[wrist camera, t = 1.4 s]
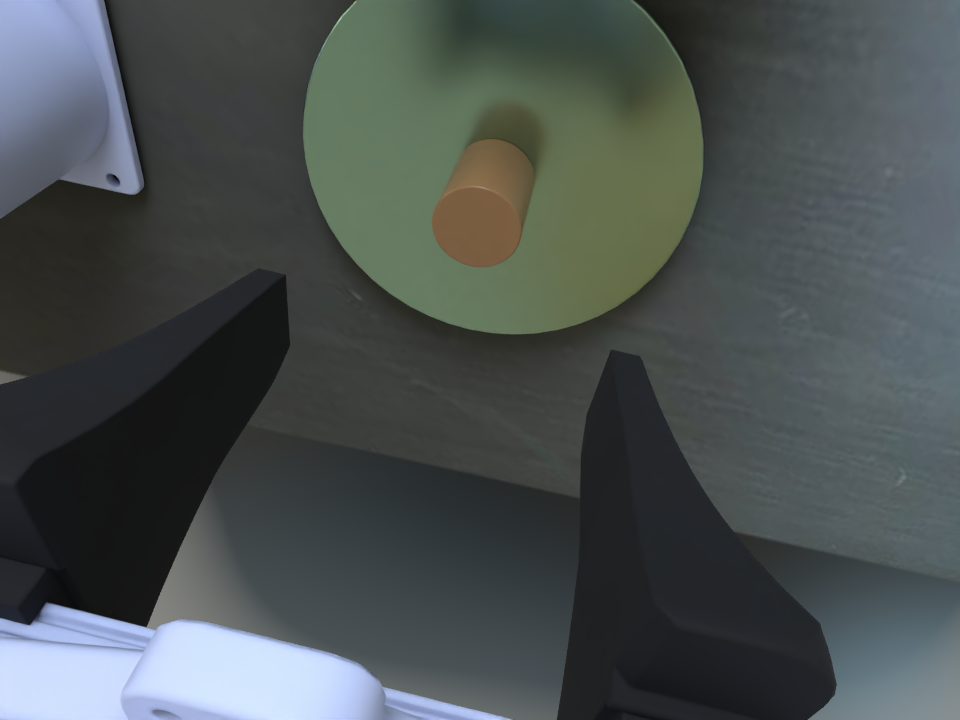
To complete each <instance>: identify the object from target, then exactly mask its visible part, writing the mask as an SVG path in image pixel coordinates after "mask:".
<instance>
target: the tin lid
mask: <svg viewBox="0 0 960 720" xmlns="http://www.w3.org/2000/svg"><path fill="white" fill-rule="evenodd" d="M303 143H304V153H305V162H306V166H307V170H308V174H309V178H310V183H311V186H312V189H313V191H314V194H315V197H316V200H317V202H318V205H319V207H320V209H321V211H322V213H323V215H324V217H325V219H326V221H327V223H328V225H329V227H330V229H331V230H332V232H333V233H334V235H335V236H336V238H337V239H338V241H339V243H340V244H341V246H342V247H343V248H344V249H345V251H346V252H347V253H348V254H349V256H350V257H351V258H352V259H353V260H354V262H355V263H356V264H357V265H358V266H359V267H360V268H361V269H362V270H363V271H364V272H365V273H366V274H367V275H368V276H369V277H370V278H371V279H372V280H373V281H375V282H376V283H377V284H378V285H380V286H381V287H382V288H383V289H385V290H386V291H387V292H388V293H390V294H391V295H393V296H394V297H396V298H397V299H399V300H400V301H402V302H403V303H405V304H407V305H408V306H410V307H412V308H414V309H416V310H418V311H420V312H422V313H424V314H426V315H428V316H430V317H433V318H435V319H438V320H440V321H443V322H445V323H448V324H451V325H455V326H459V327H462V328H466V329H469V330H475V331H481V332H487V333H496V334H512V335H514V334H535V333H542V332H549V331H556V330H560V329H563V328H567V327H571V326H575V325H578V324H581V323H583V322H586V321H588V320H591V319H594V318H596V317H598V316H600V315H602V314H604V313H606V312H608V311H610V310H612V309H613V308H615V307H617V306H619V305H620V304H621V303H623V302H624V301H626V300H627V299H629V298H630V297H632V296H633V295H635V294H636V293H637V292H638V291H639V290H640V289H641V288H643V287H644V286H645V285H646V284H647V283H648V282H649V281H650V280H651V279H653V277H654V276H655V275H656V274H657V273H658V272H659V270H660V269H661V268H662V267H663V266H664V265H665V264H666V262H667V261H668V260H669V258H670V257H671V255H672V254H673V252H674V251H675V249H676V248H677V246H678V245H679V243H680V242H681V240H682V238H683V236H684V234H685V232H686V230H687V227H688V225H689V223H690V221H691V219H692V216H693V213H694V210H695V207H696V204H697V200H698V197H699V194H700V188H701V182H702V176H703V170H704V135H703V127H702V118H701V112H700V107H699V104H698V100H697V96H696V93H695V89H694V85H693V82H692V80H691V77H690V75H689V73H688V70H687V68H686V66H685V63H684V61H683V59H682V57H681V55H680V53H679V51H678V50H677V48H676V47H675V45H674V43H673V42H672V40H671V39H670V37H669V35H668V34H667V32H666V30H665V29H664V28H663V27H662V26H661V24H660V23H659V22H658V21H657V20H656V18H655V17H654V16H653V15H652V14H651V13H650V11H649V10H648V9H647V8H646V7H645V6H644V5H643V4H642V3H641V2H640V1H639V0H355V1H354V2H353V3H352V5H351V6H350V7H349V8H348V9H347V10H346V11H345V12H344V13H343V14H342V15H341V17H340V18H339V20H338V21H337V23H336V24H335V26H334V27H333V29H332V30H331V32H330V33H329V35H328V36H327V37H326V40H325V42H324V44H323V46H322V48H321V50H320V52H319V54H318V56H317V58H316V60H315V63H314V66H313V70H312V73H311V76H310V79H309V83H308V86H307V92H306V98H305V104H304V110H303Z"/></svg>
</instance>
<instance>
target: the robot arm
mask: <svg viewBox="0 0 960 720" xmlns="http://www.w3.org/2000/svg"><path fill="white" fill-rule="evenodd" d="M113 175H115V176H116V177H117V178H118V179H119V181H117V180H116V179H115V178H114V176H113ZM58 179H60V180H65V181H69V182H74V183H79V184H83V185H88V186H92V187H97V188H102V189H106V190H111V191H115V192H120V193H124V194H129V195H135V194H137V193H138V192H140V191H141V190H142V189H143V187H144V179H143V175H142V170H141V166H140V161H139V157H138V152H137V147H136V143H135V138H134V134H133V129H132V125H131V120H130V116H129V111H128V107H127V102H126V97H125V93H124V88H123V84H122V79H121V75H120V70H119V66H118V61H117V57H116V52H115V47H114V43H113V38H112V34H111V29H110V25H109V20H108V16H107V11H106V7H105V2H104V0H0V219H1V218H2V217H4V216H5V215H7V214H8V213H10V212H11V211H13V210H14V209H16V208H17V207H18V206H20V205H21V204H23V203H24V202H26V201H27V200H29V199H30V198H32V197H33V196H35V195H36V194H38V193H39V192H40V191H42V190H43V189H45V188H46V187H48V186H49V185H51V184H52V183H54V182H55V181H57V180H58ZM289 346H290V339H289V322H288V305H287V289H286V275H285V274H281V273H276V272H272V271H268V270H263V269H257V270H255V271H253V272H252V273H250V274H248V275H246V276H245V277H243V278H241V279H240V280H238V281H236V282H235V283H233V284H231V285H230V286H228V287H226V288H225V289H223V290H221V291H220V292H218V293H216V294H215V295H213V296H211V297H210V298H208V299H206V300H204V301H203V302H201V303H199V304H198V305H196V306H194V307H192V308H191V309H189V310H187V311H186V312H184V313H182V314H180V315H178V316H176V317H174V318H172V319H170V320H168V321H167V322H165V323H163V324H161V325H159V326H157V327H155V328H153V329H151V330H149V331H147V332H145V333H143V334H141V335H139V336H137V337H135V338H133V339H131V340H128V341H126V342H124V343H122V344H119V345H117V346H115V347H112V348H110V349H107V350H105V351H102V352H100V353H98V354H95V355H92V356H90V357H87V358H84V359H81V360H79V361H76V362H73V363H70V364H67V365H64V366H61V367H58V368H55V369H52V370H49V371H46V372H43V373H40V374H37V375H33V376H30V377H26V378H23V379H20V380H16V381H12V382H9V383H4V384H1V385H0V720H513V719H509V718H505V717H501V716H497V715H493V714H489V713H485V712H481V711H477V710H473V709H469V708H465V707H461V706H457V705H453V704H449V703H445V702H441V701H437V700H433V699H429V698H425V697H421V696H417V695H413V694H409V693H405V692H401V691H397V690H393V689H389V688H385V687H382V686H381V684H380V681H379V680H378V678H377V676H376V675H375V674H373V673H372V672H370V671H369V670H367V669H366V668H365V667H363V666H362V665H360V664H359V663H357V662H354V661H352V660H349V659H346V658H343V657H341V656H338V655H336V654H333V653H329V652H325V651H321V650H317V649H313V648H309V647H305V646H301V645H297V644H293V643H289V642H285V641H281V640H277V639H273V638H269V637H265V636H261V635H257V634H253V633H249V632H245V631H241V630H237V629H233V628H229V627H225V626H221V625H217V624H213V623H209V622H203V621H196V620H188V619H180V620H176V621H173V622H169V623H166V624H163V625H160V626H158V628H157V630H155V629H151V628H147V625H148V622H149V620H150V617H151V615H152V612H153V609H154V607H155V605H156V602H157V600H158V597H159V595H160V592H161V590H162V588H163V585H164V583H165V581H166V578H167V576H168V574H169V571H170V569H171V567H172V564H173V562H174V560H175V557H176V555H177V553H178V551H179V548H180V546H181V544H182V542H183V540H184V537H185V536H186V533H187V531H188V529H189V527H190V524H191V523H192V520H193V518H194V516H195V514H196V512H197V510H198V508H199V506H200V504H201V502H202V500H203V498H204V495H205V494H206V492H207V490H208V487H209V485H210V484H211V482H212V480H213V478H214V476H215V474H216V472H217V470H218V469H219V467H220V465H221V464H222V462H223V460H224V458H225V457H226V455H227V454H228V452H229V451H230V449H231V447H232V446H233V444H234V443H235V441H236V440H237V438H238V437H239V435H240V434H241V432H242V431H243V429H244V427H245V426H246V424H247V423H248V421H249V420H250V418H251V417H252V415H253V414H254V412H255V410H256V409H257V407H258V406H259V404H260V403H261V401H262V399H263V398H264V396H265V395H266V393H267V392H268V390H269V388H270V387H271V385H272V383H273V382H274V379H275V377H276V375H277V373H278V371H279V369H280V367H281V365H282V362H283V360H284V358H285V355H286V353H287V351H288V349H289ZM835 690H836V680H835V675H834V671H833V666H832V661H831V658H830V654H829V650H828V646H827V644H826V641H825V638H824V636H823V632H822V629H821V626H820V623H819V622H818V621H817V620H816V619H815V618H814V617H813V616H812V615H811V614H810V613H809V612H807V610H805V609H804V608H803V607H802V606H801V605H800V604H799V603H798V602H797V601H796V600H795V599H794V598H793V597H792V596H791V595H790V594H789V593H788V592H787V591H786V590H785V589H784V588H783V587H782V586H781V585H779V583H777V581H776V580H775V579H774V578H773V577H772V576H771V575H770V574H769V573H768V571H767V570H766V569H765V568H764V567H763V566H762V565H761V564H760V563H759V562H758V561H757V560H756V559H755V557H754V556H753V555H752V554H751V553H750V551H749V550H748V549H747V548H746V547H745V545H744V544H743V543H742V542H741V541H740V539H739V538H738V537H737V535H736V534H735V533H734V532H733V530H732V529H731V528H730V527H729V525H728V524H727V523H726V522H725V520H724V519H723V518H722V516H721V515H720V514H719V512H718V511H717V509H716V508H715V507H714V505H713V504H712V502H711V501H710V499H709V498H708V496H707V495H706V493H705V492H704V490H703V488H702V487H701V485H700V484H699V482H698V480H697V479H696V477H695V475H694V474H693V472H692V470H691V469H690V467H689V465H688V463H687V461H686V460H685V458H684V456H683V454H682V452H681V450H680V448H679V446H678V444H677V442H676V441H675V439H674V437H673V434H672V432H671V430H670V428H669V426H668V424H667V422H666V419H665V417H664V415H663V413H662V411H661V408H660V406H659V404H658V401H657V399H656V396H655V394H654V391H653V389H652V386H651V383H650V381H649V378H648V375H647V373H646V370H645V367H644V364H643V361H642V360H641V358H640V356H637V355H633V354H628V353H624V352H620V351H615V350H611V351H610V354H609V357H608V359H607V362H606V365H605V368H604V370H603V373H602V376H601V378H600V381H599V384H598V386H597V389H596V392H595V394H594V397H593V400H592V402H591V405H590V408H589V410H588V413H587V417H586V424H585V430H584V437H583V445H582V452H581V481H580V546H579V564H578V571H577V580H576V588H575V596H574V605H573V612H572V621H571V627H570V635H569V643H568V650H567V657H566V664H565V670H564V677H563V684H562V691H561V697H560V704H559V710H558V717H557V720H807V719H809V718H810V717H811V716H813V715H814V714H815V713H816V712H818V711H819V710H820V709H821V708H823V707H824V706H825V705H826V704H827V703H828V702H829V701H830V699H831V698H832V697H833V696H834V695H835Z"/></svg>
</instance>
